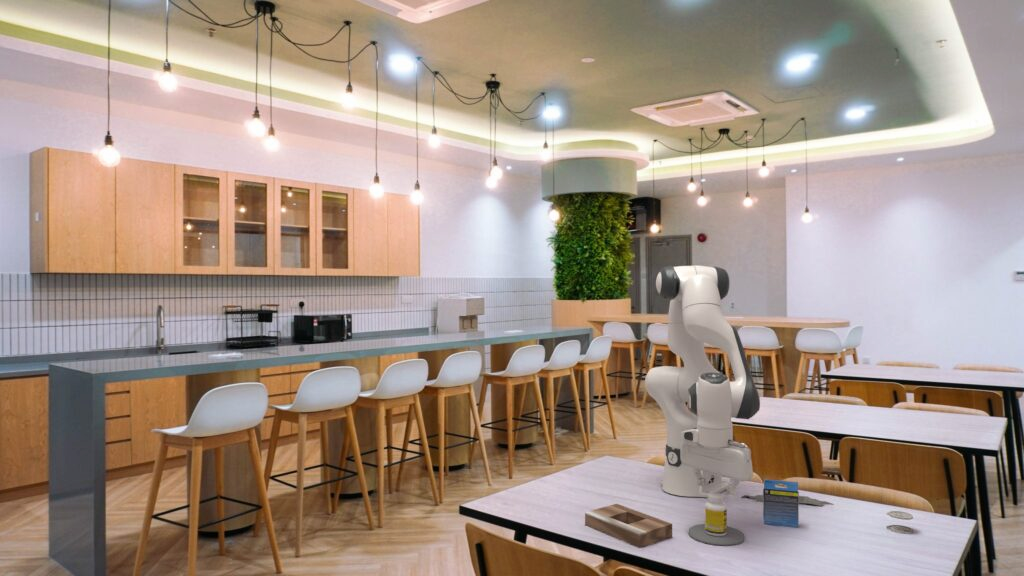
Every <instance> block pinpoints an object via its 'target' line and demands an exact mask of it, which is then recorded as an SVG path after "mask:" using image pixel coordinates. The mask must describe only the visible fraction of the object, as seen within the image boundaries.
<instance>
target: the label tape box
mask: <svg viewBox="0 0 1024 576" xmlns="http://www.w3.org/2000/svg"><path fill="white" fill-rule="evenodd" d="M779 485H782V486H785V487H780V486H779ZM799 493H800V492H799V482H798V481H788V480H776V479H767V478H763V489H762V495H763V502H762V519H763V524H764V525H768V526H780V527H792V528H799V526H800V519H799V518H800V517H799V516H800V515H799V511H800V510H799V509H800V507H799V505H800V503H799V496H800V495H799Z"/></svg>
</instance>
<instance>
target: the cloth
mask: <svg viewBox="0 0 1024 576" xmlns="http://www.w3.org/2000/svg"><path fill="white" fill-rule="evenodd" d="M746 498H750V499H752V500H755V501H756V502H758V503H763V494H757V495H750V494H749V495H748V494H744V495H742V496H741V497H740V499H746ZM799 504H804V505H805V504H806V505H808V506H819V507H824V506H825V505H828V506H829V505H830V506H834V503H831V502H829V501H825V500H819V499H816V498H812V497H809V496H805V495H799Z"/></svg>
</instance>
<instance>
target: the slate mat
mask: <svg viewBox="0 0 1024 576" xmlns="http://www.w3.org/2000/svg"><path fill="white" fill-rule="evenodd" d="M688 536H689V537H690V539H691V538H692V540H695V541H697V542H699V543H702V544H705V545H710V546H716V547H717V546H718V547H730V546H731V547H733V546H738V545H740V544H742V543H744V542H745V541H746V540H745V539H746V535H745V533H744V531H741V530H740V529H738V528H736V527H733V526H729V525H727V533H726V535H724V536H712V535H709V534H707V533H706V532H705V523H700V524H694V525H692V526H691V527H689V528H688Z"/></svg>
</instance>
